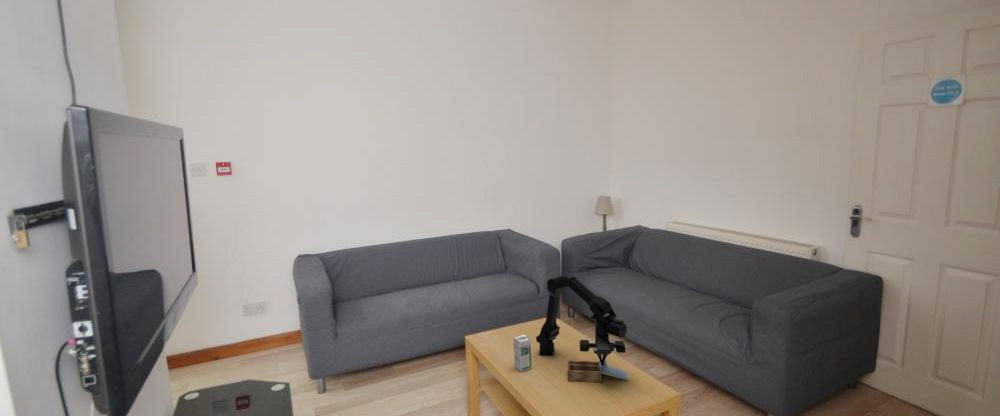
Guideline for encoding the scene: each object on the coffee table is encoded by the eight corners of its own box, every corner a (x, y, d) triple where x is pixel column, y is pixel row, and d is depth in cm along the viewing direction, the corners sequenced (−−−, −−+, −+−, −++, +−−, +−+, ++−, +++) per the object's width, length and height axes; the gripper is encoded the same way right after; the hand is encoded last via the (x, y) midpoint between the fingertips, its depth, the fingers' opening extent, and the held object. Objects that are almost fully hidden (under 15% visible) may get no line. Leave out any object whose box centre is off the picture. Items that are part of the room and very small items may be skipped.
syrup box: (520, 372, 199) (519, 341, 196) (514, 366, 204) (513, 336, 202) (531, 368, 201) (530, 338, 199) (525, 363, 207) (524, 333, 204)
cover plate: (600, 373, 189) (602, 366, 189) (598, 364, 196) (600, 358, 195) (628, 380, 189) (630, 374, 188) (625, 372, 195) (627, 365, 195)
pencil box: (567, 381, 190) (567, 370, 190) (567, 370, 199) (567, 360, 198) (601, 382, 188) (601, 372, 188) (599, 371, 197) (599, 361, 196)
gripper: (580, 338, 183) (580, 373, 185) (627, 339, 180) (627, 375, 182) (579, 326, 194) (579, 360, 196) (623, 327, 191) (623, 361, 193)
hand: (602, 364), depth 192 cm, fingers closed
